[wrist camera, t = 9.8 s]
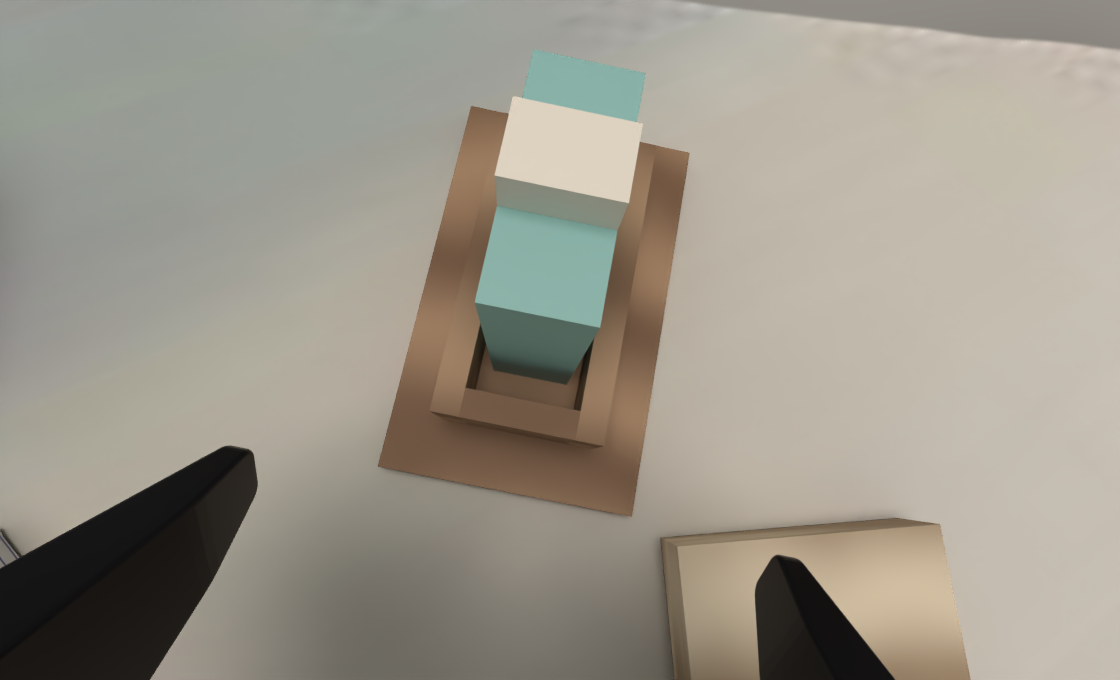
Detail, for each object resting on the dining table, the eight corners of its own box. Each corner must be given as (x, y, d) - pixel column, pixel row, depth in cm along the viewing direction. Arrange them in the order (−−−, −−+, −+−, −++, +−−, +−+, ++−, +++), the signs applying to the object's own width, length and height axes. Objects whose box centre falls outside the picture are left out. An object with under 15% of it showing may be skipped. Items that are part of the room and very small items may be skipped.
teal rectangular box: (566, 384, 23) (609, 310, 12) (493, 370, 23) (469, 282, 12) (596, 227, 25) (659, 31, 14) (527, 212, 25) (534, 4, 14)
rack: (627, 514, 23) (651, 526, 19) (382, 466, 23) (351, 466, 19) (684, 162, 27) (715, 105, 22) (472, 116, 26) (463, 50, 22)
